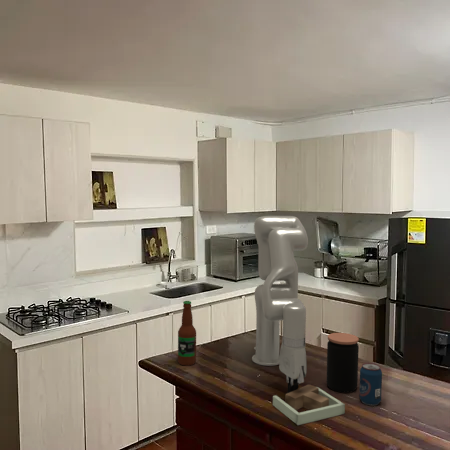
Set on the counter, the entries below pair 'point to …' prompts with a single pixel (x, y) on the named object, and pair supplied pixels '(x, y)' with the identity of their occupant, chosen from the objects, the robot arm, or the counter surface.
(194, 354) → the bottle
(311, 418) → the frame
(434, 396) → the counter surface
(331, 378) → the coffee jar
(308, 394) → the t block
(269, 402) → the counter surface
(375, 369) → the soda can
